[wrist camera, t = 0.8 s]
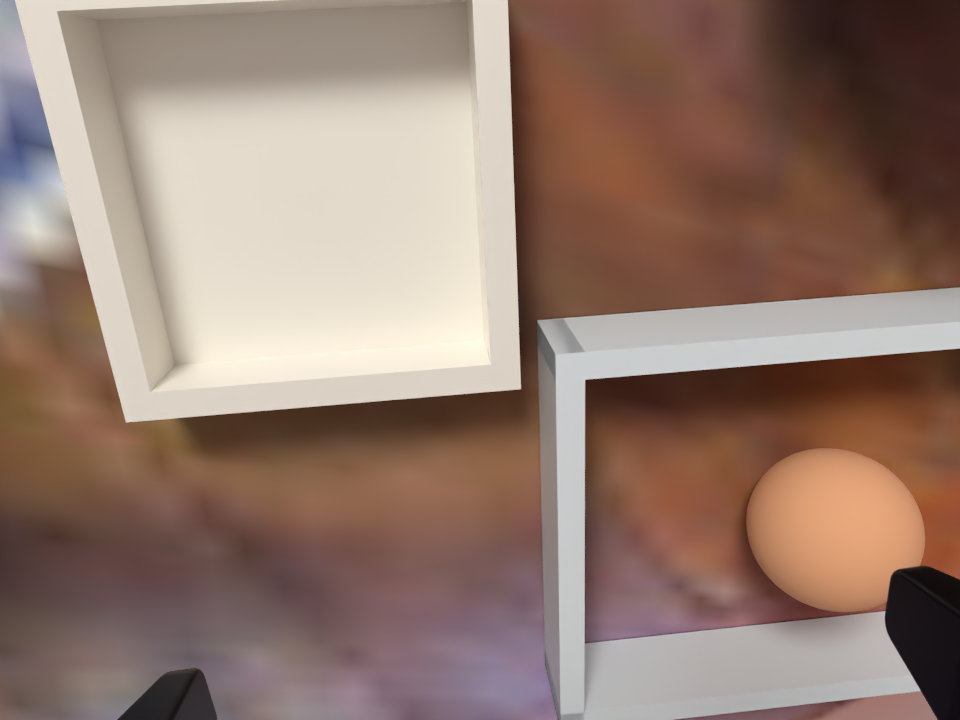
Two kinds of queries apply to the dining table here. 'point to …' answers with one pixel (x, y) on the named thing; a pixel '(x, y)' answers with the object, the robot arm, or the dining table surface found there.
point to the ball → (833, 528)
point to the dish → (288, 196)
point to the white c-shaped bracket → (730, 651)
